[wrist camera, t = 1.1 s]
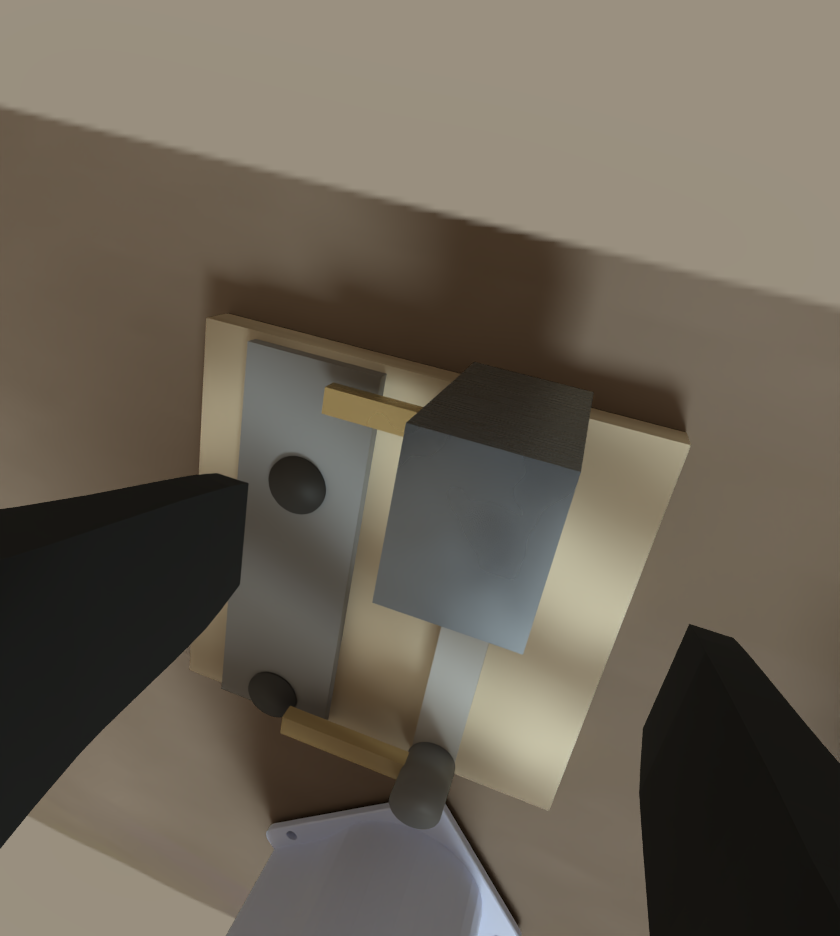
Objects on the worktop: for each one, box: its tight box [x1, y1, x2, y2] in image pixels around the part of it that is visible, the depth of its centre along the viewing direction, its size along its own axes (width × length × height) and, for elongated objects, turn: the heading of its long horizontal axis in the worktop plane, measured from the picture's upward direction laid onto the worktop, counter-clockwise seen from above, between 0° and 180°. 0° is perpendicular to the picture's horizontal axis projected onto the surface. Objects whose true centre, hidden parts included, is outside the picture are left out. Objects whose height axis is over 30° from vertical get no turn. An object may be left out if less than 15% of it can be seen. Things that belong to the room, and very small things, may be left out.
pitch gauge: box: [189, 313, 691, 829], centre depth 20 cm, size 14×15×4 cm
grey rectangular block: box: [321, 362, 594, 655], centre depth 15 cm, size 4×7×6 cm, turn 79°
